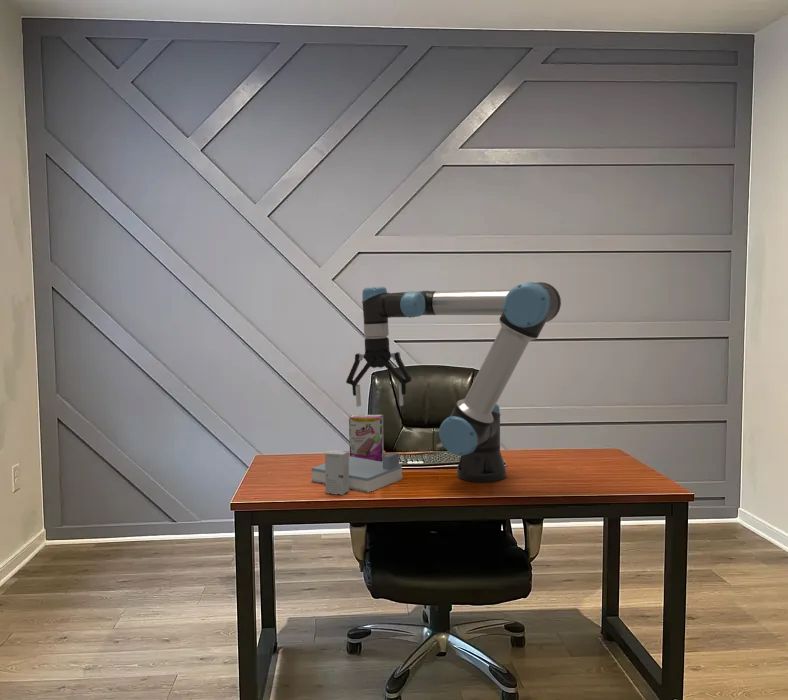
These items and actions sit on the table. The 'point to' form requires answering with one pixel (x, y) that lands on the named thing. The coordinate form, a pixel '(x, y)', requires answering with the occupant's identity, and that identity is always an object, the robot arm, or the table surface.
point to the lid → (369, 467)
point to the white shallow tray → (362, 484)
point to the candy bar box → (366, 437)
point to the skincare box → (337, 472)
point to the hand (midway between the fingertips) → (380, 405)
